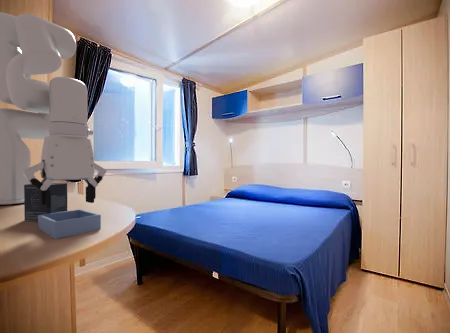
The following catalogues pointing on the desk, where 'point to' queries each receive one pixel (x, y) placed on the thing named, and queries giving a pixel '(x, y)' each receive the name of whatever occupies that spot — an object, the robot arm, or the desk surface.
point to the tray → (69, 223)
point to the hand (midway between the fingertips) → (69, 204)
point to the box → (34, 208)
